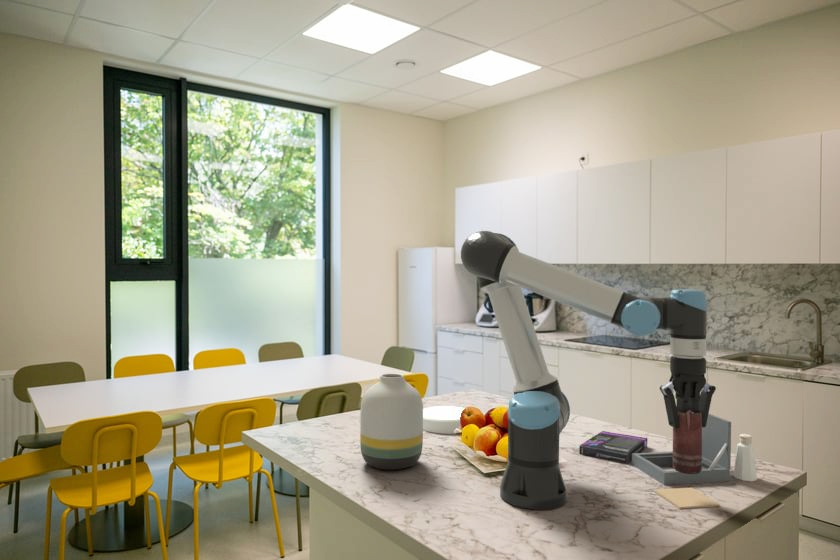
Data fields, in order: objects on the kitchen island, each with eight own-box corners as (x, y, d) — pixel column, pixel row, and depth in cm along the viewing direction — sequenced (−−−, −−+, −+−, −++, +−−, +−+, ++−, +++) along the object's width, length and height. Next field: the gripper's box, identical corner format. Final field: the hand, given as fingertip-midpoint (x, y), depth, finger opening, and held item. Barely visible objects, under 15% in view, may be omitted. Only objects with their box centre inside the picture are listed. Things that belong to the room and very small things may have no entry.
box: (602, 441, 178) (578, 455, 162) (602, 430, 178) (578, 443, 162) (648, 449, 169) (627, 465, 154) (648, 437, 169) (627, 452, 154)
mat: (679, 508, 125) (679, 507, 125) (653, 491, 134) (653, 489, 134) (720, 506, 126) (720, 504, 126) (691, 489, 136) (691, 487, 136)
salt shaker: (736, 472, 148) (737, 430, 148) (760, 477, 144) (760, 435, 144) (730, 477, 144) (730, 434, 144) (753, 483, 140) (754, 439, 140)
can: (676, 474, 128) (676, 412, 127) (669, 464, 134) (670, 406, 134) (705, 476, 126) (705, 414, 126) (697, 466, 133) (697, 407, 132)
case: (664, 484, 139) (665, 424, 139) (631, 464, 153) (632, 409, 153) (730, 481, 142) (731, 421, 141) (692, 461, 156) (692, 407, 156)
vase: (435, 463, 153) (436, 375, 152) (390, 480, 140) (391, 384, 140) (392, 449, 164) (392, 368, 164) (347, 464, 152) (347, 375, 152)
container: (446, 415, 206) (446, 402, 206) (488, 426, 191) (488, 413, 191) (405, 425, 192) (405, 411, 192) (446, 438, 177) (446, 423, 177)
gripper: (671, 359, 125) (670, 464, 125) (725, 357, 127) (724, 461, 128) (651, 354, 133) (651, 454, 133) (703, 353, 135) (702, 451, 135)
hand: (687, 457), depth 130 cm, fingers closed
